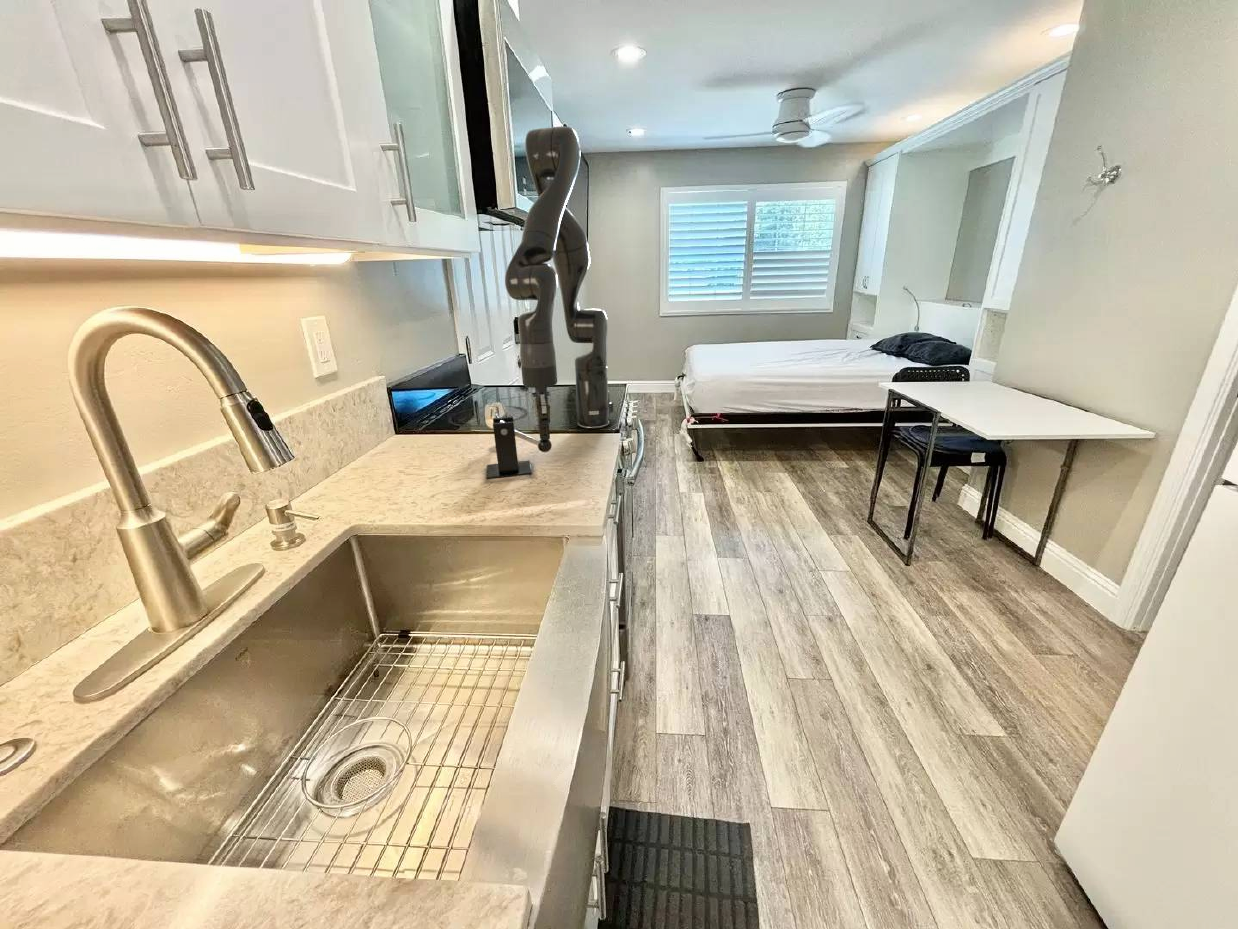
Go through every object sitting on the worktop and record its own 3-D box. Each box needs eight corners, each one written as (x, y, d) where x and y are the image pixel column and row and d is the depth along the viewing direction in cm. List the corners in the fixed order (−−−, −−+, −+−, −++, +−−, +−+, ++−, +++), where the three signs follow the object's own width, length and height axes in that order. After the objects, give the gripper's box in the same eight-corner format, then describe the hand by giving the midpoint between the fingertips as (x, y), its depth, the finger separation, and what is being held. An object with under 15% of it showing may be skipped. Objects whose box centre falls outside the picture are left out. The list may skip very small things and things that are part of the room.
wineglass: (505, 453, 126) (500, 408, 121) (484, 452, 127) (478, 407, 123) (514, 445, 131) (509, 402, 127) (494, 444, 132) (488, 401, 128)
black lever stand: (530, 464, 118) (525, 413, 113) (532, 477, 111) (526, 423, 106) (487, 469, 116) (480, 417, 111) (486, 482, 109) (479, 427, 104)
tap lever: (547, 451, 115) (553, 440, 115) (548, 456, 112) (554, 444, 112) (495, 429, 111) (501, 417, 110) (495, 433, 108) (501, 421, 107)
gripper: (559, 367, 101) (564, 446, 107) (552, 357, 113) (558, 429, 119) (522, 369, 99) (530, 450, 106) (519, 359, 111) (526, 432, 118)
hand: (545, 438), depth 112 cm, fingers closed
